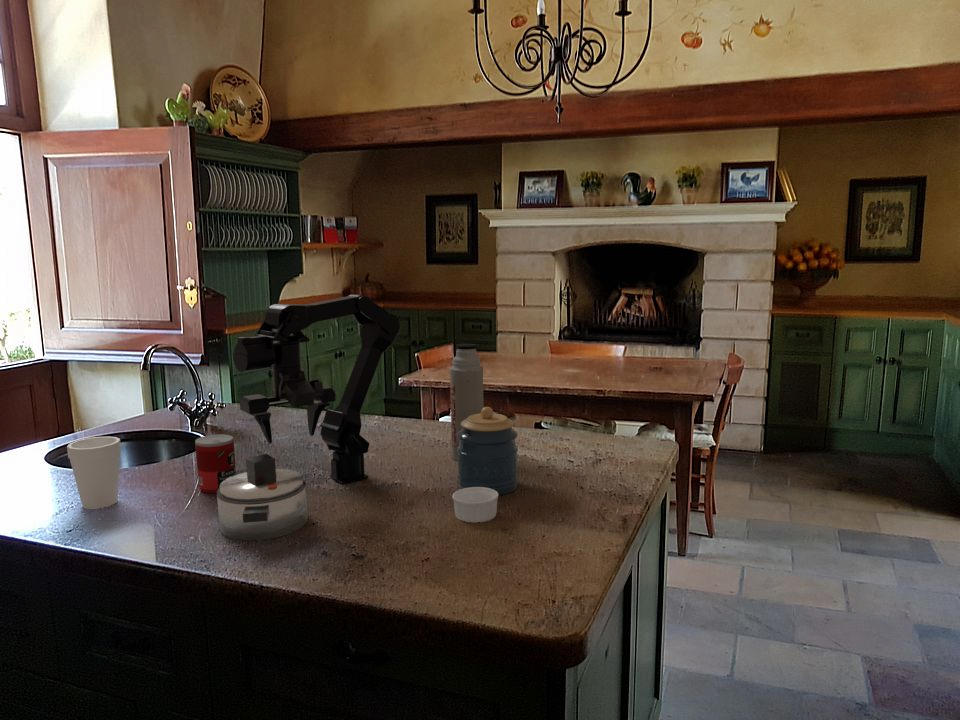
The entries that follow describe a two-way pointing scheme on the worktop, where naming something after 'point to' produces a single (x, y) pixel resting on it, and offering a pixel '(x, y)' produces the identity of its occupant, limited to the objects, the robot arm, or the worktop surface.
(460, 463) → the canister
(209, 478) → the canned food
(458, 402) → the thermos bottle
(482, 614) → the worktop surface
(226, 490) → the lid
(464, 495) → the ramekin
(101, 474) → the foam cup
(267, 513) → the pot
